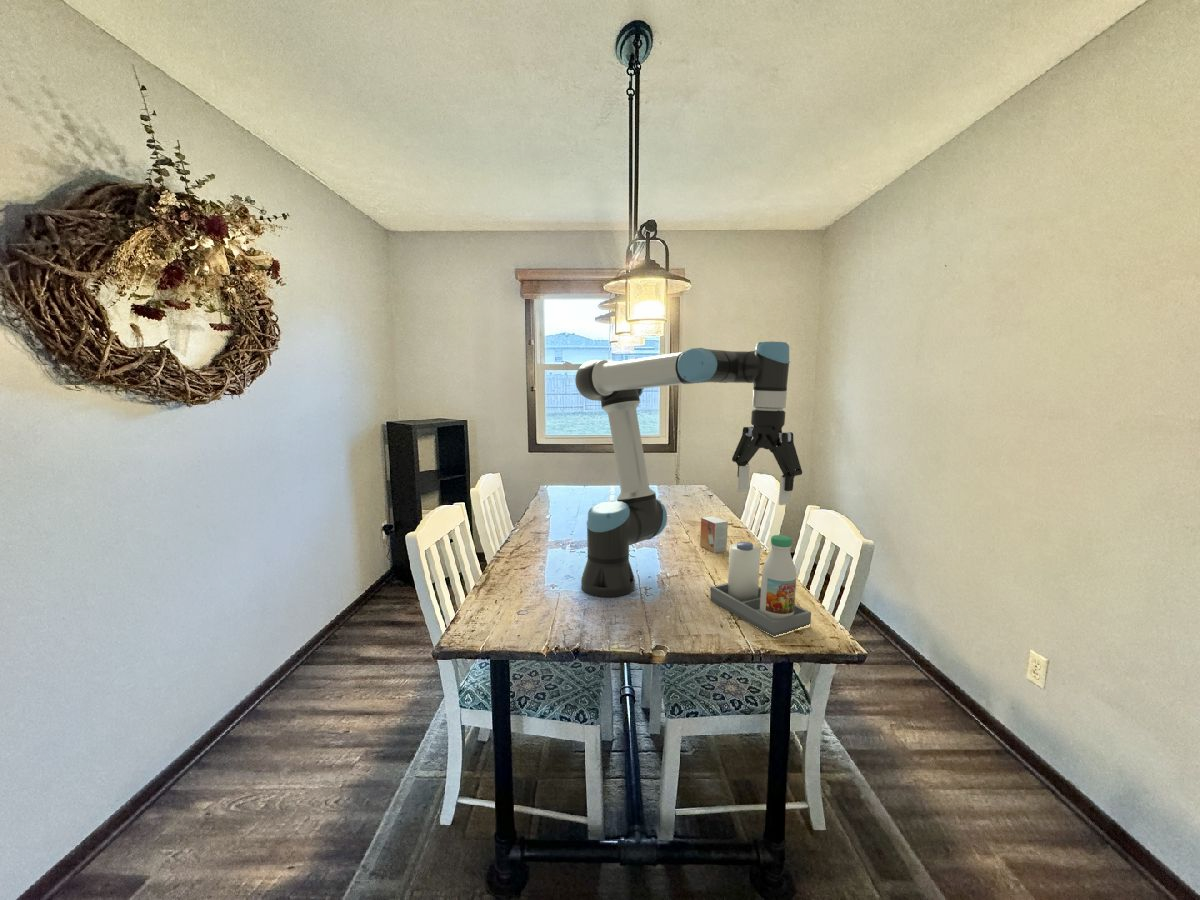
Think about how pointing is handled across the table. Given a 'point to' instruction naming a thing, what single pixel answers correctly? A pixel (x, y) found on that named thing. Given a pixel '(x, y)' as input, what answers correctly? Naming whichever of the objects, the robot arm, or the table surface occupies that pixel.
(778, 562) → the milk bottle
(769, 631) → the tray
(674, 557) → the table surface
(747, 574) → the twin bottle
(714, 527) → the small box
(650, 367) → the robot arm
